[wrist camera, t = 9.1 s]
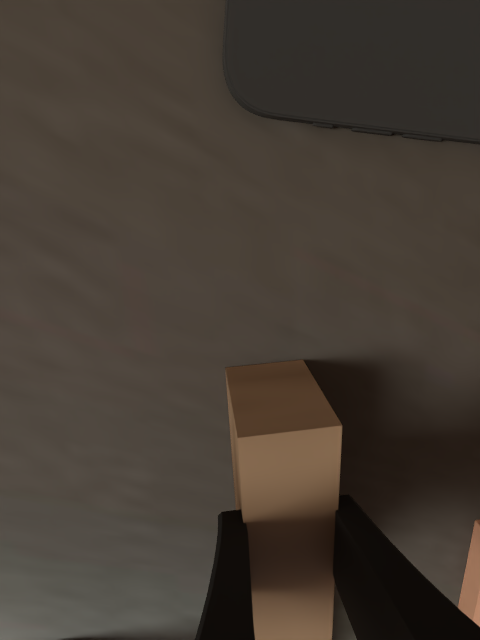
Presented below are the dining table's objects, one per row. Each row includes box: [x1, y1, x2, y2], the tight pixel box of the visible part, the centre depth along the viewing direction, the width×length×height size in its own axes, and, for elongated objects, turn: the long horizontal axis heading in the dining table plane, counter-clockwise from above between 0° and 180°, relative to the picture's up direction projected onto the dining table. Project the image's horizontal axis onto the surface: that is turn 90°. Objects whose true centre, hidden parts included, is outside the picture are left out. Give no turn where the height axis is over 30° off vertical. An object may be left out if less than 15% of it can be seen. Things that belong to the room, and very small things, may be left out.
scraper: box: [225, 360, 342, 640], centre depth 14 cm, size 16×2×4 cm, turn 3°
